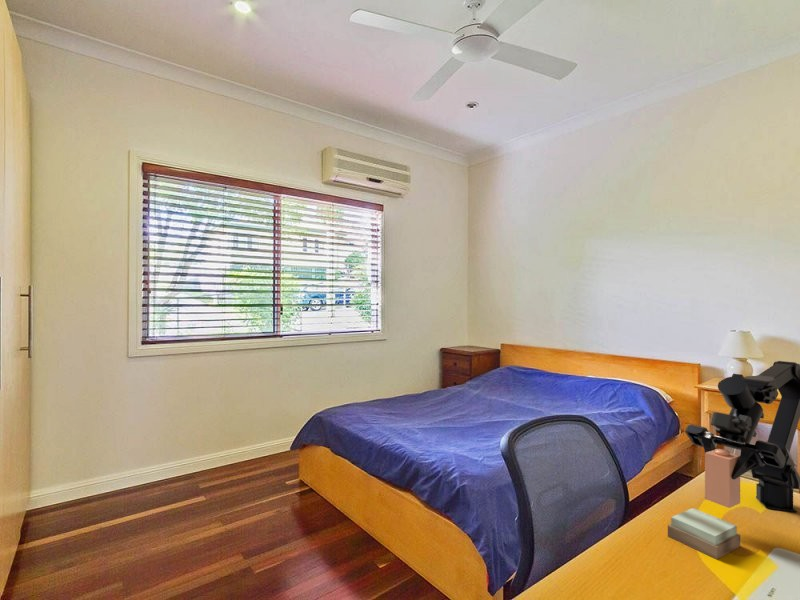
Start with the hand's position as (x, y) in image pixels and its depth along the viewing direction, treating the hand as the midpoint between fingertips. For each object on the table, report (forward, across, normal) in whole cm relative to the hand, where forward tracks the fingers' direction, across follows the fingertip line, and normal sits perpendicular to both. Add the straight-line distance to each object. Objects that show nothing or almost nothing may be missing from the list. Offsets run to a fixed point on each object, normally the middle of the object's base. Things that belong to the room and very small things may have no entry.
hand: (719, 474), depth 99 cm
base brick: (+15, 0, +5) cm, 15 cm away
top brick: (+4, 0, +6) cm, 7 cm away
